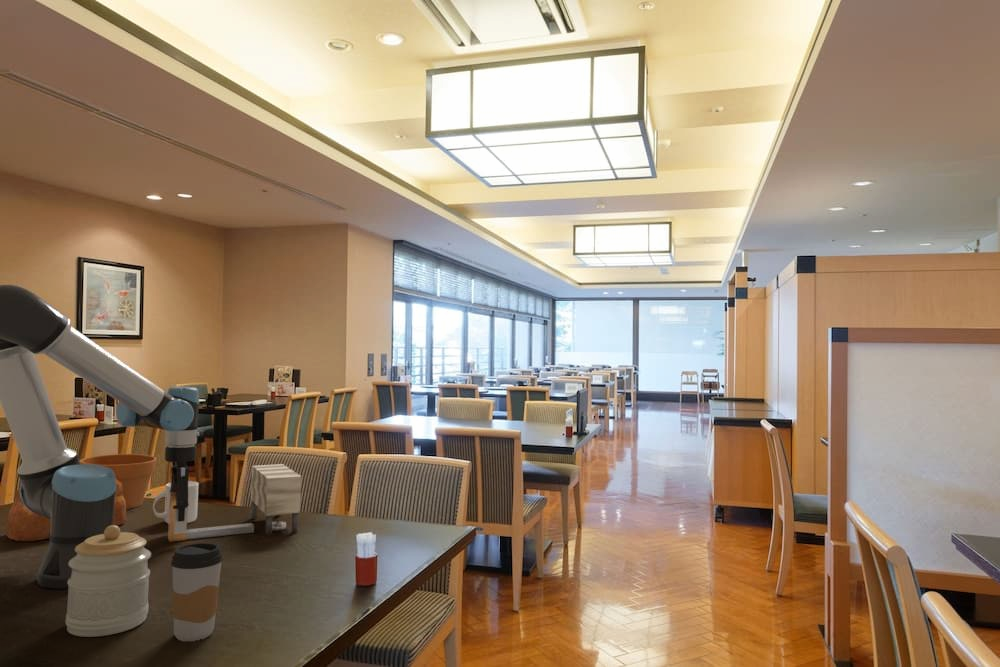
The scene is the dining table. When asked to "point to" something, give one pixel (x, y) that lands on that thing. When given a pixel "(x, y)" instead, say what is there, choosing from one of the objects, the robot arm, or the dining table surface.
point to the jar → (108, 584)
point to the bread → (38, 527)
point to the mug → (191, 500)
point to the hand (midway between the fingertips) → (177, 527)
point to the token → (278, 525)
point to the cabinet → (275, 493)
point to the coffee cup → (195, 589)
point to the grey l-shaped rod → (202, 531)
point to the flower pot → (128, 473)
